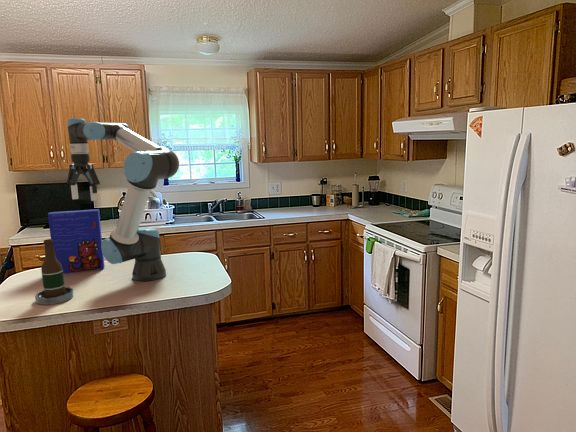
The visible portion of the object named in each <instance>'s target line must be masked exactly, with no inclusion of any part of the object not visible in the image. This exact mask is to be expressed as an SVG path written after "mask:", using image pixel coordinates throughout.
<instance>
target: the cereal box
mask: <svg viewBox="0 0 576 432" xmlns="http://www.w3.org/2000/svg"><path fill="white" fill-rule="evenodd" d="M47 219H48V225H49V226H48V227H49V228H48V229H49V235H50V239H53V241H54V243H53V244H54V250H55V255H56V258H57V260H58V261H59V262H60V263H61V265H62V268H63V275H64V274H71V273H73V274H74V273H81V272H91V271H92V272H93V271H99V270H105V260H104V259H105V257H104V255H103V253H102V249H101V243H102V241H103V238H102V229H101V228H102V226H101V217H100V209H99V208H97V209H96V208H95V209H83V210H67V211H64V210H63V211H53V212H52V211H51V212H48V213H47Z"/></svg>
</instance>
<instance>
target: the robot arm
mask: <svg viewBox="0 0 576 432" xmlns="http://www.w3.org/2000/svg"><path fill="white" fill-rule="evenodd" d="M66 128H67V133H68V134H67V135H68V143H69V148H70V149H69V150H70V153H71V154H70V160H71V163H69V165H68V167H69V168H68V175H67V179H66V184H69V186H70V191H71V199H72V200H78V199H79V191H78V189H79V188H78V183H77V182H78V180H79V178H80V175H82V176H84V177H85V179H86V180H87V182H88V183H89V192H90V201H91V202H93V201H94V202H95V201H98V187H97V186H99V185H100V184H101V181H100V180H99V178H98V176H97V173H96V171H95V167H94V164H93V163H89V162H90V154H89V153H90V150H89V141H97V140H112V141H115V142H117V143H119V144H121V145H123V146H124V147H126V148H127V149H129V150H131V151H132V152H131V153H130V154H127V156H126V157H125V160H124V163H123V170H124V171H123V174H124V176H125V178H126V181H127V183H128V184H129V185H128V187H127V190H126V193H125V198H124V201H123V204H122V207H121V210H120V214H119V218H118V220H117V224H116V227H115V228H113V229H112V230H111V232H110V235H109V237H106V238H104V239H102V243H101V249H102V253H103V256H104V259H105V260H106V261H107V262H108V263H110V264H111V265H118V264H122V263H125V262H128V261H132V260H134V265H133V269H132V273H131V275H132V276H131V277H132V279H133V280H134V281H137V282H147V281H155V280H156V281H157V280H159V279H162V278H164V277H165V276H166V275H167V271H166V270H167V269H166V268H165V267H166V266H165V265H164V261H163V260H162V253H161V240H160V239H161V237H160V231H159V230H158V229H157V228H154V227H140V224H141V221H142V218H143V215H144V211H145V209H146V206H147V204H148V200H149V197H150V194H151V191H153V190H154V189H156V188H157V187H156V186H157V184H158V182H159V180H166V179H170V178H172V177H174V176H175V175H176V173H177V172H178V171H179V167H180V160H179V158H178V155H177V153H175V152H174V151H173V150H171V149H170V148H167V147H166V146H164V145H163V146H159V145H158V144H156V143H154V142H153V141H150V140H149V139H147V138H145V137H143V136H141V135H140V134H138V133H137V132H134V131H132V130H131V127H130V126H129V125H128V124H127V123H125V122H124V123H122V122H98V121H89V122H86V119H84V118H80V117H79V118H68V119H67V127H66Z"/></svg>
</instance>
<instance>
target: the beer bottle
mask: <svg viewBox="0 0 576 432" xmlns="http://www.w3.org/2000/svg"><path fill="white" fill-rule="evenodd" d="M53 243H54V241H53V239H51V238H48V239H44V240H43V245H44V261H43V262H42V263H41V264H42V265H41V268H40V270H41V281H42V287H43V290H44V295H45V298H50V297H57V296H60V295H64V294H65V287H66V286H65V276H64V274H63V268H62V265H61V263H60V262H59V261H58V260H57V258H56V255H55V250H54V244H53Z"/></svg>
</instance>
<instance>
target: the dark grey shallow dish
mask: <svg viewBox="0 0 576 432" xmlns="http://www.w3.org/2000/svg"><path fill="white" fill-rule="evenodd" d="M73 297H74V288H72V287H71V286H70V287H69V286H65V294H64V295H60V296H57V297H50V298H45V295H44V289H43V290H41V291H38V292H37V293H36V294H35V295H34V300H35V302H36V304H37V305H40V306H53V305H58V304H62V303H65V302H68V301H70V300H71V299H73Z"/></svg>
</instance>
